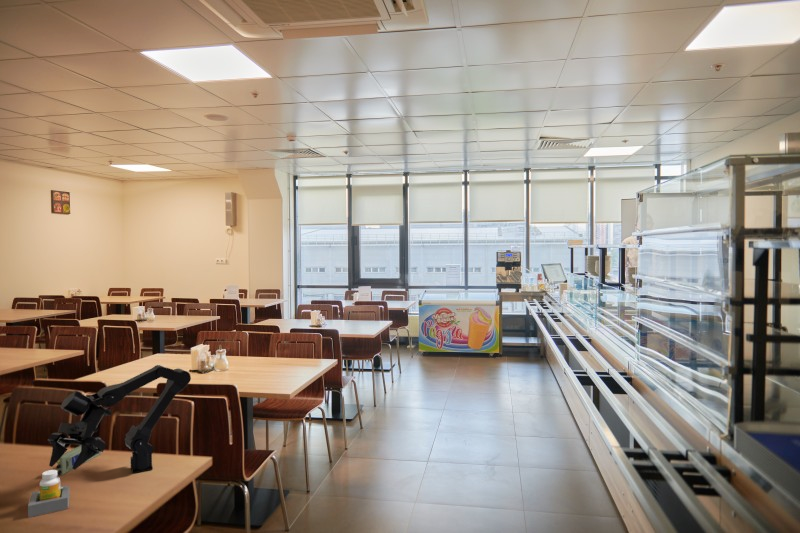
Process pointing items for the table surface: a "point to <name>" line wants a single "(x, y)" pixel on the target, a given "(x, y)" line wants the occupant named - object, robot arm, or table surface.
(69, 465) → the handheld radio
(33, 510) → the dock
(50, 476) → the supplement bottle
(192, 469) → the table surface
